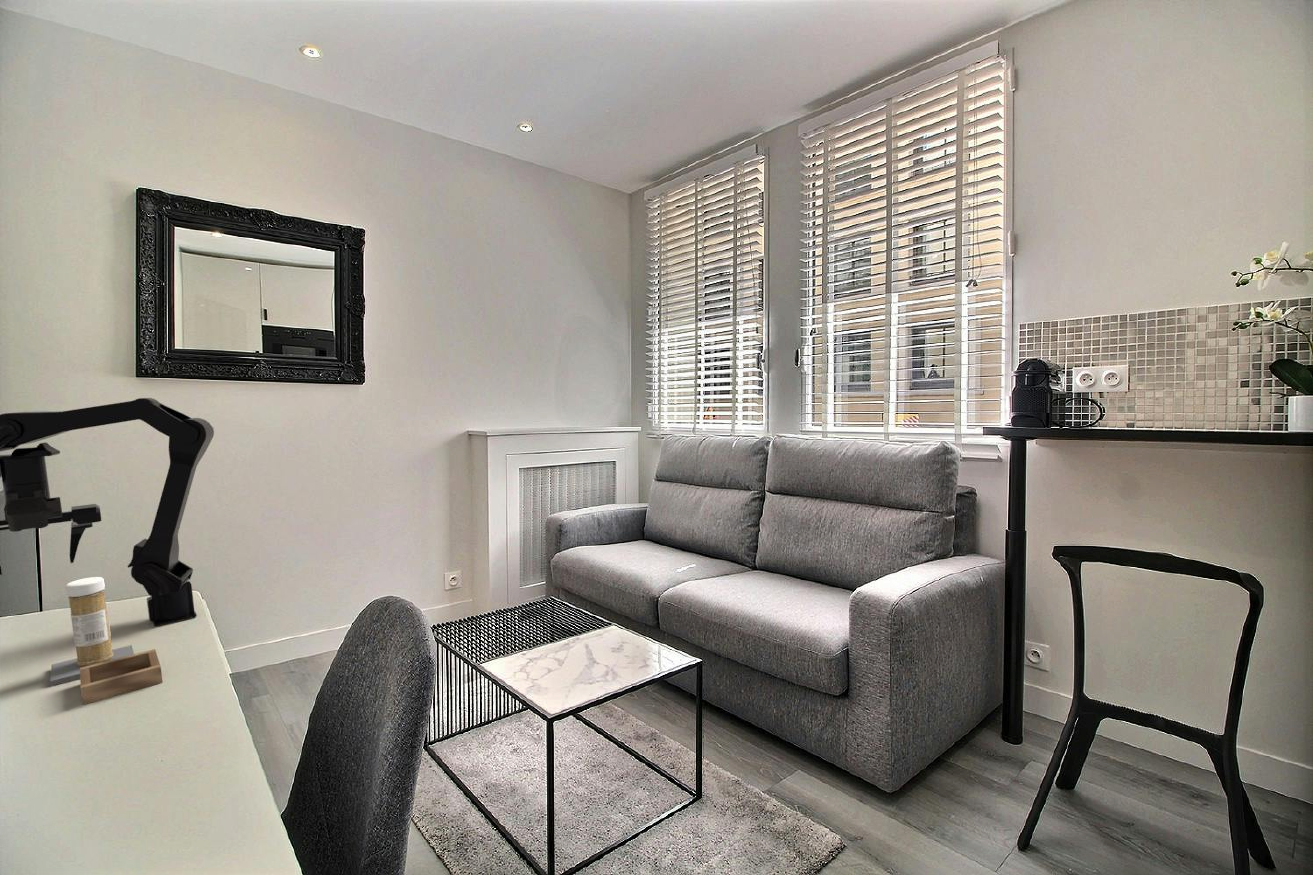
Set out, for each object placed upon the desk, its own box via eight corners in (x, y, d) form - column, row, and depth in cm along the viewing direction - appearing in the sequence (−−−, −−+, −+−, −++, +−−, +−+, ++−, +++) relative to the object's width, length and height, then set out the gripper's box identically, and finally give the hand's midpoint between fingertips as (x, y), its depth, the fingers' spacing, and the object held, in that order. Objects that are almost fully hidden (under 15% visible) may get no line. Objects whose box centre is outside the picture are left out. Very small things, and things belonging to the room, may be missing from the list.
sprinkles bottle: (116, 652, 106) (106, 573, 104) (111, 662, 102) (100, 581, 100) (79, 659, 103) (69, 579, 102) (73, 670, 99) (62, 587, 98)
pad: (132, 649, 108) (131, 644, 108) (135, 663, 103) (135, 659, 102) (52, 669, 102) (51, 664, 102) (50, 686, 96) (50, 681, 96)
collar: (156, 663, 102) (155, 648, 102) (162, 682, 96) (160, 666, 96) (82, 683, 96) (80, 667, 96) (82, 704, 90) (80, 687, 90)
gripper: (-60, 496, 100) (-46, 592, 101) (96, 480, 112) (107, 565, 114) (-50, 488, 108) (-37, 577, 110) (95, 474, 121) (105, 554, 122)
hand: (37, 568), depth 114 cm, fingers open, 9 cm apart
